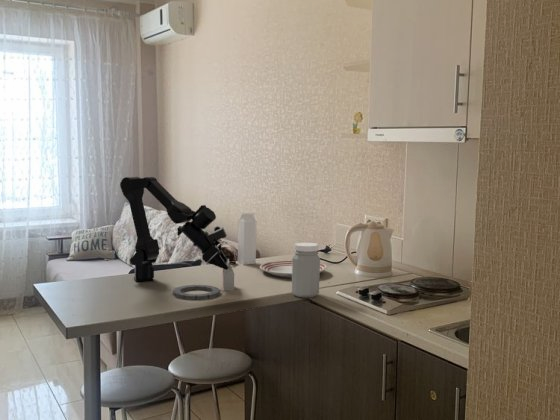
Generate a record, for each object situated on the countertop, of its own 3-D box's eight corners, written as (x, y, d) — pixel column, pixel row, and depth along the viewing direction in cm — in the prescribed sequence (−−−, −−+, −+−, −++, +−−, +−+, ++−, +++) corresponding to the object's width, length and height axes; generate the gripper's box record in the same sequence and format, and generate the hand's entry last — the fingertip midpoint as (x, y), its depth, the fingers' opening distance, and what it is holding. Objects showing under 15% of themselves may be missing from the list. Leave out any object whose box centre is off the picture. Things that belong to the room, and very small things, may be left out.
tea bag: (232, 285, 221) (232, 259, 220) (234, 290, 215) (234, 262, 214) (222, 285, 221) (222, 259, 220) (223, 290, 214) (224, 262, 213)
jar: (285, 294, 210) (286, 243, 208) (303, 289, 218) (305, 240, 216) (306, 299, 204) (308, 247, 202) (324, 294, 211) (326, 244, 209)
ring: (178, 301, 198) (178, 297, 198) (168, 289, 213) (168, 286, 213) (225, 297, 204) (225, 294, 204) (212, 286, 219) (212, 283, 219)
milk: (255, 264, 262) (257, 214, 260) (243, 265, 259) (244, 214, 257) (249, 261, 268) (250, 212, 265) (237, 262, 265) (238, 212, 262)
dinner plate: (249, 277, 237) (250, 268, 237) (272, 264, 263) (272, 257, 263) (317, 283, 229) (317, 275, 228) (333, 269, 254) (333, 262, 254)
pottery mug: (237, 266, 259) (229, 250, 256) (218, 275, 259) (209, 260, 256) (236, 254, 270) (228, 239, 267) (217, 263, 270) (209, 248, 267)
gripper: (212, 223, 205) (244, 255, 207) (214, 217, 224) (243, 246, 226) (188, 246, 206) (221, 277, 208) (193, 237, 224) (222, 266, 226)
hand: (227, 266), depth 217 cm, fingers open, 9 cm apart
